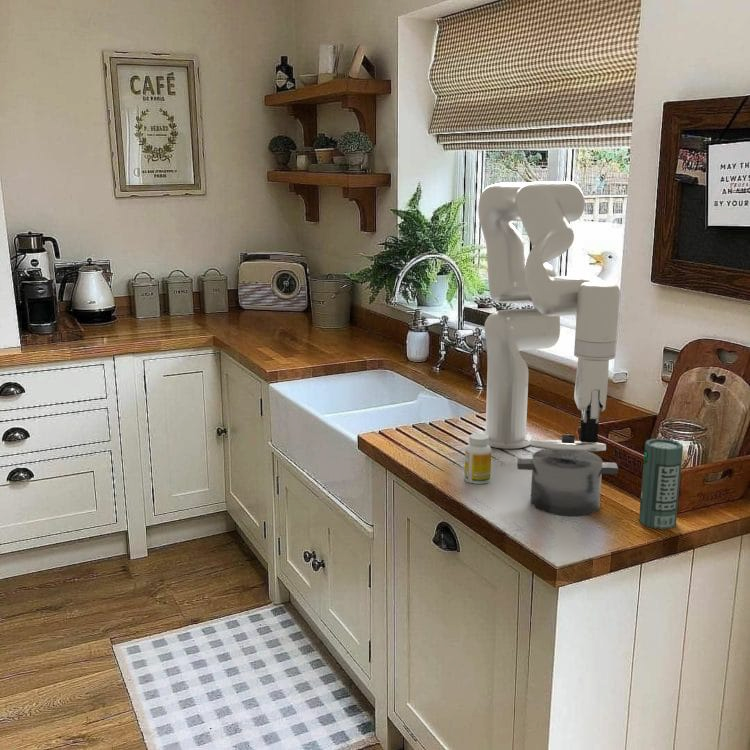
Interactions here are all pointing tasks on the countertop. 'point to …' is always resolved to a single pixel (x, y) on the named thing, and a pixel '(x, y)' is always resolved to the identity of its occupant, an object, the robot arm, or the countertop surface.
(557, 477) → the pot
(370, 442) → the countertop surface
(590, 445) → the lid
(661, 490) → the can
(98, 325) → the countertop surface
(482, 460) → the supplement bottle
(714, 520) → the countertop surface
